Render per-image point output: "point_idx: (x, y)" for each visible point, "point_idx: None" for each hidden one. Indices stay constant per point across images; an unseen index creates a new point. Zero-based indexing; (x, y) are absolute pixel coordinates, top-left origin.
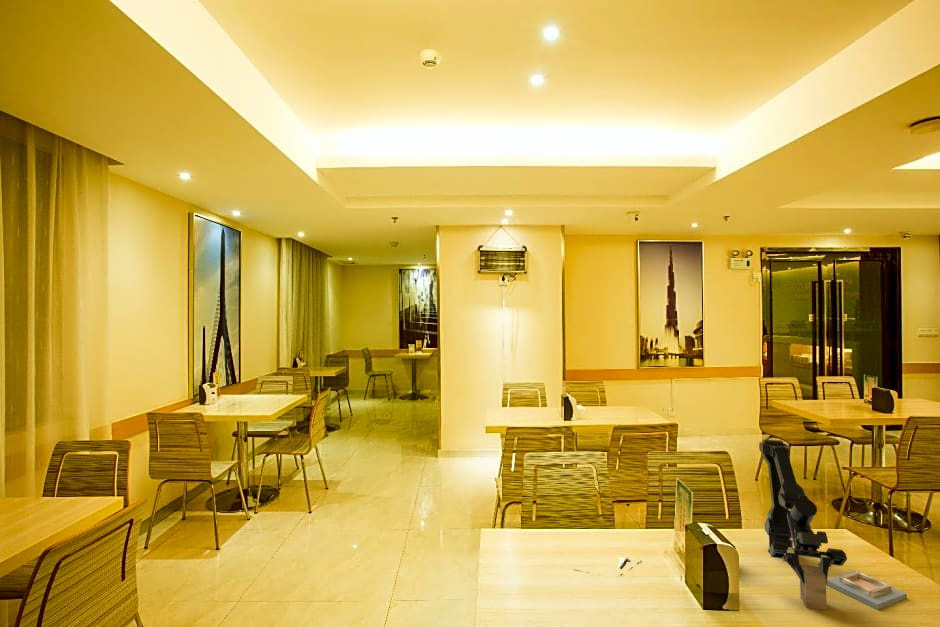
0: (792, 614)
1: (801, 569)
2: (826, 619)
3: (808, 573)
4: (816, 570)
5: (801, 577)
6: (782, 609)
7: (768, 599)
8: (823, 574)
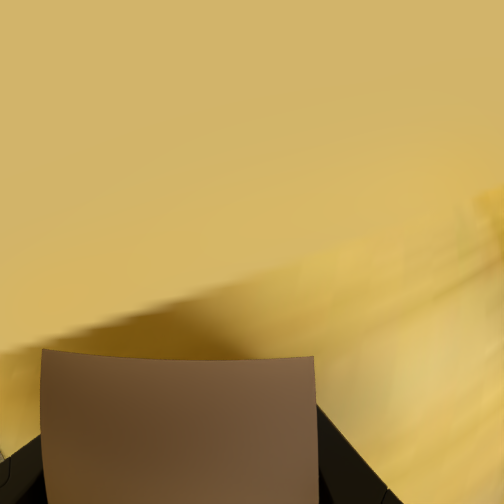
0: (367, 278)
1: (329, 500)
2: (207, 290)
3: (266, 360)
4: (108, 491)
5: (331, 422)
6: (406, 308)
7: (454, 380)
8: (54, 381)
